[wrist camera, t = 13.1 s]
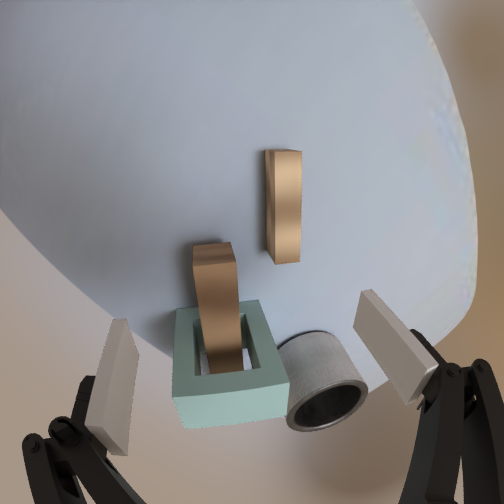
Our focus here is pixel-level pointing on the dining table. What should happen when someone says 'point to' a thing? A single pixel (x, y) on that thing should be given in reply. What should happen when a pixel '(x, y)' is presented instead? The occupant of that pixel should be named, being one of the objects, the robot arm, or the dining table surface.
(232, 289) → the brown wooden long bar
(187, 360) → the green rectangular frame
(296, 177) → the rail
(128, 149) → the dining table surface
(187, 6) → the dining table surface
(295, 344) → the planter
